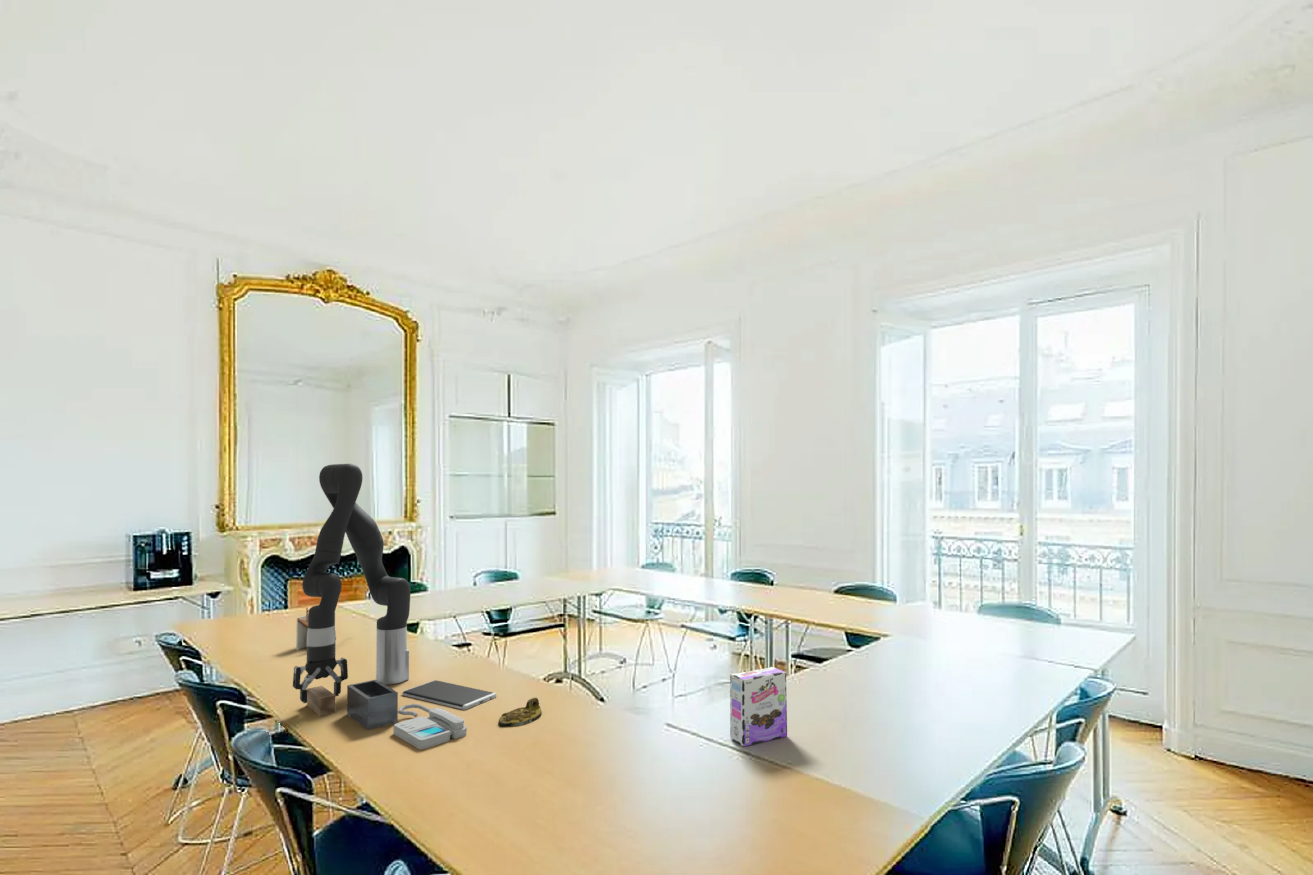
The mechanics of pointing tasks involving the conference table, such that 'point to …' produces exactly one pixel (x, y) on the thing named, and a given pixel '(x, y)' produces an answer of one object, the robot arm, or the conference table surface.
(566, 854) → the conference table surface
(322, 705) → the brown rectangular block
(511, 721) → the seal
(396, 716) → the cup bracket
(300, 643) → the staircase
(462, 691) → the smartphone
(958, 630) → the conference table surface
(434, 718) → the intercom
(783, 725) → the candy box
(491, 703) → the conference table surface
